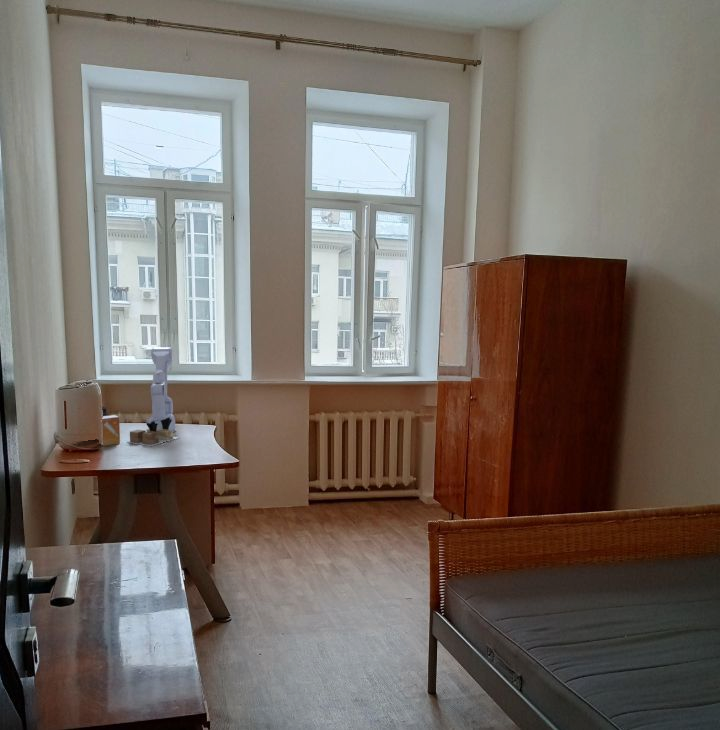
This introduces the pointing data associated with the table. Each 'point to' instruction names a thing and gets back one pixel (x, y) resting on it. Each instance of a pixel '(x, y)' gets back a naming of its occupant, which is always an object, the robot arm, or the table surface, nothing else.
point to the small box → (111, 430)
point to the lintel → (164, 433)
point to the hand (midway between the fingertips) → (159, 435)
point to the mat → (155, 443)
